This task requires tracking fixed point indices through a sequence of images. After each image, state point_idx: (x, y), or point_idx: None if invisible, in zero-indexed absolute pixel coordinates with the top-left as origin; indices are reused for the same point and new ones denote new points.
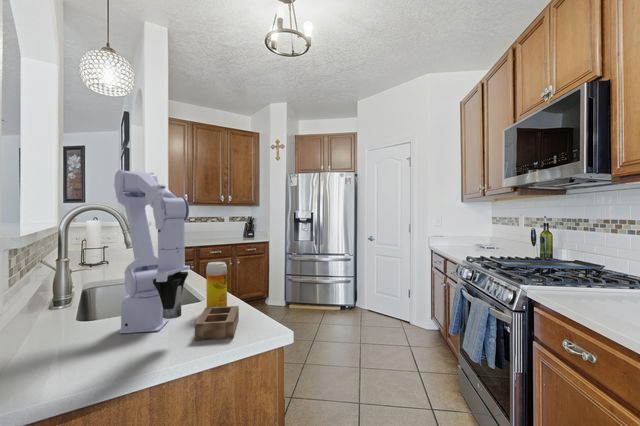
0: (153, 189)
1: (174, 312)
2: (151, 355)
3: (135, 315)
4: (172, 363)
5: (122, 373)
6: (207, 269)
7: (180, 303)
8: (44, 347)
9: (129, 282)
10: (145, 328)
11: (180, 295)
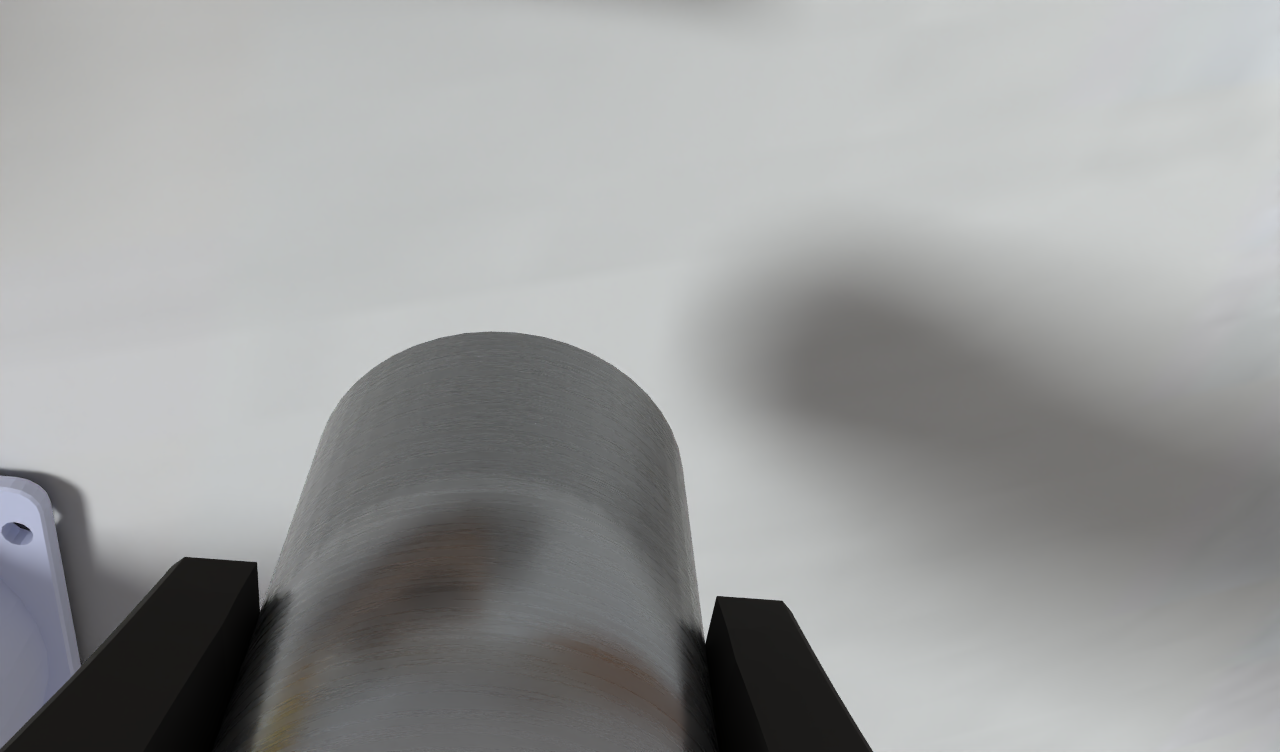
0: None
1: (676, 506)
2: (842, 401)
3: None
4: (1212, 130)
5: (1154, 548)
6: None
7: (537, 529)
8: None
9: None
10: (35, 645)
11: (526, 723)
